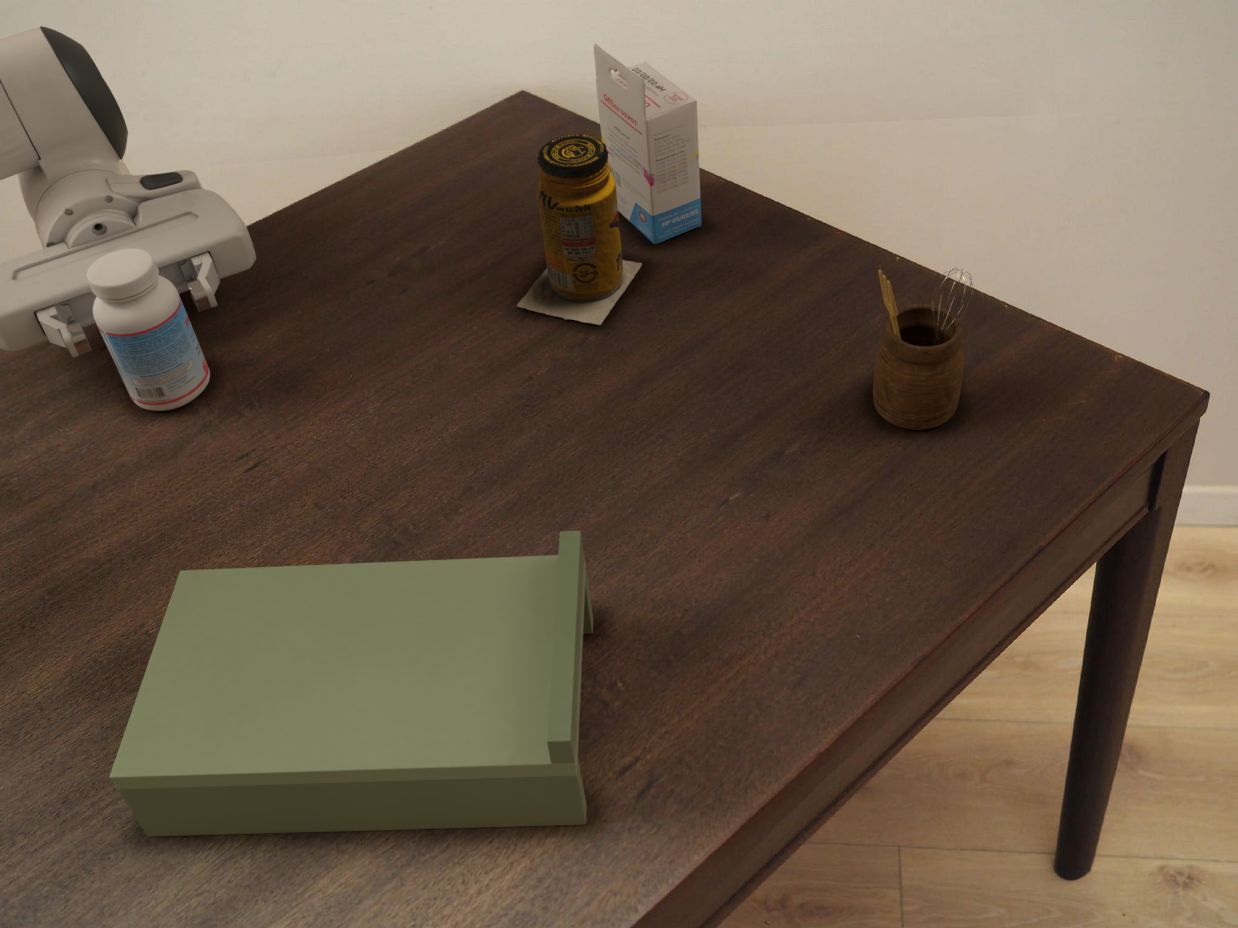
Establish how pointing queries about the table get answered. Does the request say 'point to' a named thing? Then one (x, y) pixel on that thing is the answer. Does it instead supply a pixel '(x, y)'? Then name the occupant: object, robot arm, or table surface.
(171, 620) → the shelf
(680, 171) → the ink box
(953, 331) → the utensil holder
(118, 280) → the pill bottle
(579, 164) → the condiment
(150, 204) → the robot arm
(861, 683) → the table surface
